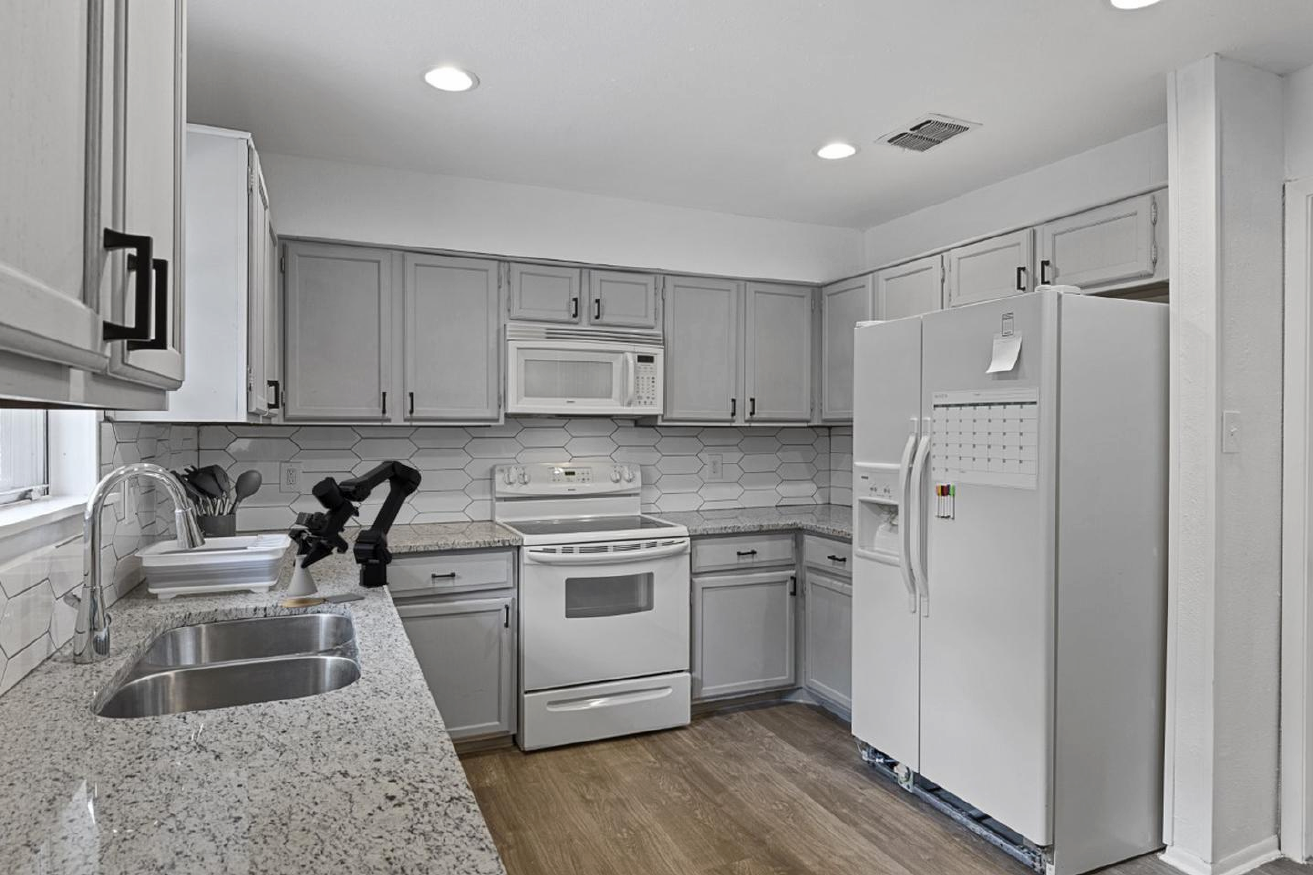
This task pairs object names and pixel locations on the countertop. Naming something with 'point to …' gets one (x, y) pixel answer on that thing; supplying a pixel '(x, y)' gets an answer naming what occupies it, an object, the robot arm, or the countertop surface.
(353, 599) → the slate coaster
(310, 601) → the cork trivet
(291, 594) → the flask
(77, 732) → the countertop surface
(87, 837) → the countertop surface
